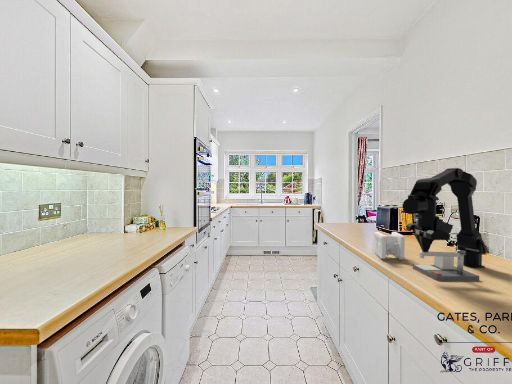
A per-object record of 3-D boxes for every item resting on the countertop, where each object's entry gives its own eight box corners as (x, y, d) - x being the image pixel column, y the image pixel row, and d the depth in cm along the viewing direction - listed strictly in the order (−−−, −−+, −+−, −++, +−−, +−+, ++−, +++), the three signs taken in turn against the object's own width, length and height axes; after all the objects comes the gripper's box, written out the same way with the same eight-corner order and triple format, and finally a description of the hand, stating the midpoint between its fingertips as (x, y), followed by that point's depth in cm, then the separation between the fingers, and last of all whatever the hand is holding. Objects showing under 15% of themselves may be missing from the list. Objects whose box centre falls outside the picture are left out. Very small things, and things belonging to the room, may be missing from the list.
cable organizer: (405, 262, 116) (406, 236, 116) (380, 260, 118) (381, 235, 118) (394, 254, 131) (394, 231, 130) (372, 252, 133) (372, 230, 133)
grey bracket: (418, 271, 97) (418, 248, 97) (461, 272, 96) (461, 249, 96) (422, 273, 94) (423, 250, 94) (466, 274, 94) (467, 251, 93)
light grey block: (444, 265, 105) (445, 251, 105) (453, 269, 101) (454, 254, 101) (434, 265, 105) (434, 251, 105) (442, 269, 101) (442, 253, 101)
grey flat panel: (450, 268, 107) (450, 263, 107) (479, 280, 94) (479, 274, 94) (412, 268, 107) (412, 263, 107) (436, 280, 93) (436, 274, 93)
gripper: (467, 216, 86) (466, 262, 87) (434, 210, 105) (433, 247, 105) (432, 215, 87) (431, 261, 88) (405, 209, 106) (404, 247, 107)
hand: (425, 253), depth 97 cm, fingers closed
